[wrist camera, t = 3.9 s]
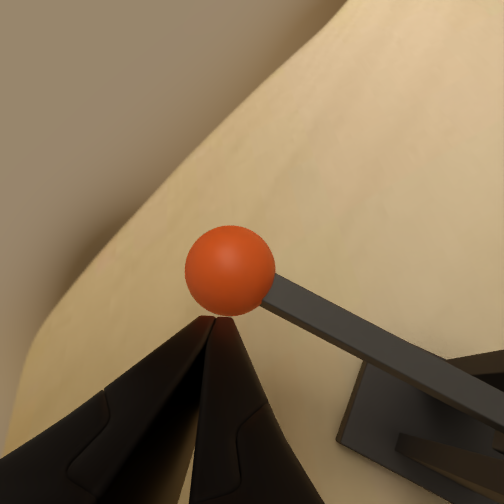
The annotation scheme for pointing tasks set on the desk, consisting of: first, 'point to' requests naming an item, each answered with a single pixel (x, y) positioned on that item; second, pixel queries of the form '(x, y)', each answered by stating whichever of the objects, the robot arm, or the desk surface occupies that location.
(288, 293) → the switch
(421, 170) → the desk surface
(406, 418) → the switch bracket
